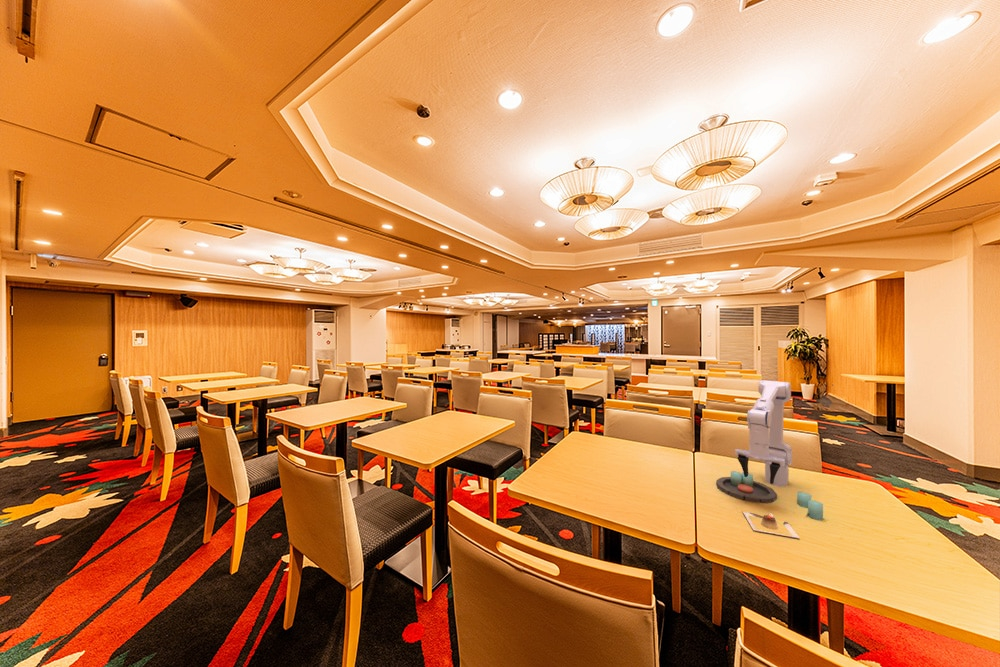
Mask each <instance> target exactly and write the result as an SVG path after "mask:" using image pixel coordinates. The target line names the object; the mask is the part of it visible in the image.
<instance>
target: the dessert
mask: <svg viewBox="0 0 1000 667" xmlns="http://www.w3.org/2000/svg"><path fill="white" fill-rule="evenodd" d="M742 514H743V515H744V517H745V518H746V520H747V522H748V524H749V525H750V527H751V528H752V531H755V532H760V533H766V534H772V535H776V536H781V537H782V536H783V537H788V538H793V539H794V538H795V539H800V538H801V537H800V536H799V534H798V533H797V532H796V531H795V529H794V528H793V527H792V525H790V524H789V522H788V521H784V522H783V526H784V527H785V528H786V529H787V531H788V532H789V534H790V535H786V534H781V533H776V532H772V531H771V532H770V531H765V530H759V529H757V528H756V526H755V524H754V523H753V522H752V519H751V518H750V517H754V518H758V519H759V518H760V519H761V522H760V525H761V526H762V527H764V528H766V529H769V530H775V531H777V530H778V529H779V526H778V524H777V521H776V520H777V519H776V518H775V517H774V514H772V513H771V512H770V513H769V514H768V515H767V514H764V515H760V514H757V513H752V512H747V511H746V512H745V511H742Z"/></svg>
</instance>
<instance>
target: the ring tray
mask: <svg viewBox="0 0 1000 667" xmlns="http://www.w3.org/2000/svg"><path fill="white" fill-rule="evenodd" d="M715 485H716V488H717V489H718V490H719V491H721V492H722V493H724V494H725V495H727V496H730V497H732V498H736V499H738V500H741V501H745V502H751V503H756V504H768V503H774V502H775V501H776V500H777V499H778V493H777V492H776V491H775V490H774V489H773V488H772V487H770V486H768V485H766V484H764V483H762V482H760V481H755V480H753V488H752V487H750V486H748V485H744V484H739V485H738V487H734V486H732V485H731V476H723V477H719V478H718V479H716V483H715Z"/></svg>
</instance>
